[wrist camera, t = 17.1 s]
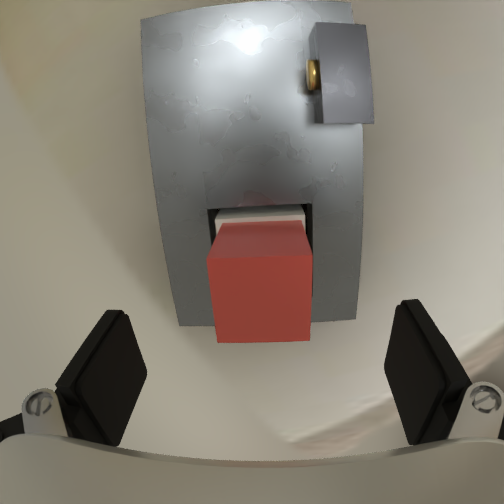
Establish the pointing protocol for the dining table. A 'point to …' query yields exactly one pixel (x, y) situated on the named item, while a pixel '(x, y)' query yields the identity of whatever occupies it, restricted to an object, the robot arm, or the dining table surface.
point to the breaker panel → (258, 135)
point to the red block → (261, 282)
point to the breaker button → (260, 214)
